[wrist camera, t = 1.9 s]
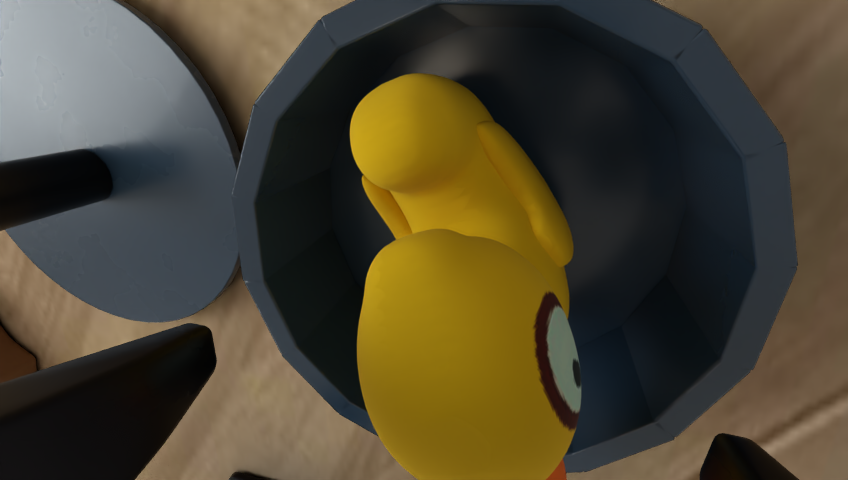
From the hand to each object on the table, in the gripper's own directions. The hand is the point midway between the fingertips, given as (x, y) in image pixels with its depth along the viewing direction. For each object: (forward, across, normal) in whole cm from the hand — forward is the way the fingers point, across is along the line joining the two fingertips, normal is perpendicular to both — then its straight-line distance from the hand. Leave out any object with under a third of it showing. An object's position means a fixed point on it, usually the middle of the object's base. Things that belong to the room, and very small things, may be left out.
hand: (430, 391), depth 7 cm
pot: (+10, 0, 0) cm, 10 cm away
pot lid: (+9, +18, 0) cm, 20 cm away
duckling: (+10, 0, 0) cm, 10 cm away
